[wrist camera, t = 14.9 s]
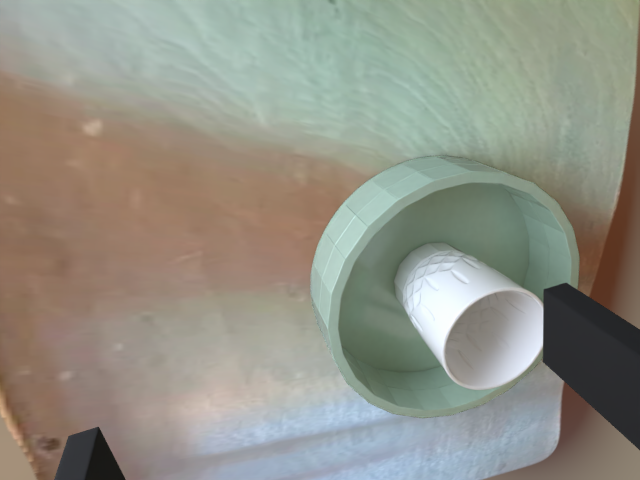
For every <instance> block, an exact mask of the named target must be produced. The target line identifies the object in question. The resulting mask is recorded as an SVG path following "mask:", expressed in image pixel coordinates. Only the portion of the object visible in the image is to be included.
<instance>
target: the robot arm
mask: <svg viewBox="0 0 640 480" xmlns="http://www.w3.org/2000/svg"><path fill="white" fill-rule="evenodd" d="M543 362H544V363H545V364H546V365H547V366H548V367H549V368H550V369H551V370H553V371H554V372H555V373H556V374H557V375H558V376H559V377H560V378H561V379H562V380H564V381H565V382H566V383H567V384H568V385H569V386H570V387H571V388H572V389H573V390H574V391H576V392H577V393H578V394H579V395H580V396H581V397H582V398H583V399H585V401H587V402H588V403H589V404H590V405H591V406H592V407H593V408H594V409H595V410H597V411H598V412H599V413H600V414H601V415H602V416H603V417H604V418H605V419H606V420H608V422H610V423H611V424H612V425H613V426H614V427H615V428H616V429H617V430H618V431H619V432H621V433H622V434H623V435H624V436H625V437H626V438H627V439H628V440H629V441H631V443H633V444H634V445H635V446H636V447H637V448H638V449H639V450H640V329H638V328H636V327H635V326H633V325H632V324H630V323H629V322H627V321H626V320H624V319H622V318H621V317H619V316H618V315H616V314H615V313H613V312H611V311H610V310H608V309H607V308H605V307H604V306H602V305H600V304H599V303H597V302H596V301H594V300H593V299H591V298H590V297H588V296H586V295H585V294H583V293H582V292H580V291H579V290H577V289H576V288H574V287H572V286H571V285H569V284H568V283H562V284H559V285H556V286H553V287H550V288H546V289H544V292H543ZM54 480H125V478H124V476H123V474H122V472H121V470H120V468H119V466H118V464H117V462H116V460H115V458H114V456H113V454H112V452H111V450H110V448H109V446H108V444H107V442H106V440H105V438H104V436H103V434H102V432H101V430H100V428H99V427H96V428H93V429H90V430H87V431H83V432H80V433H77V434H74V435H70V436H69V437H68V440H67V443H66V446H65V449H64V452H63V455H62V458H61V461H60V464H59V467H58V470H57V473H56V476H55V479H54Z"/></svg>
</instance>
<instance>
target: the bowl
mask: <svg viewBox="0 0 640 480" xmlns="http://www.w3.org/2000/svg"><path fill="white" fill-rule="evenodd" d="M438 242H445V243H447V244H449V245H451V246H453V247H455V248H457V249H459V250H461V251H462V252H464V253H465V254H469V255H471V256H473V257H474V258H476V259H478V260H480V261H481V262H483V263H485V264H486V265H488V266H490V267H492V268H493V269H495V270H497V271H498V272H500V273H501V274H503V275H505V276H506V277H508V278H509V279H511V280H512V281H514V282H516V283H517V284H519V285H520V286H522V287H524V288H525V289H527V290H529V291H530V292H532V293H533V294H535V295H536V296H537V297H538V298H539V299H540V300H541V301H542V303H543V292H544V289H546V288H550V287H553V286H556V285H559V284H562V283H568V284H569V285H571V286H572V287H574V288H576V289H578V279H579V260H580V257H579V252H578V247H577V243H576V238H575V234H574V230H573V227H572V225H571V223H570V222H569V220H568V218H567V217H566V215H565V213H564V212H563V210H562V208H561V207H560V205H559V203H558V202H557V201H556V200H554V199H553V198H552V197H551V196H550V195H548V194H547V193H546V192H545V191H544V190H542V189H541V188H540V187H539V186H537V185H536V184H535V183H533V182H530V181H527V180H525V179H522V178H519V177H517V176H514V175H511V174H509V173H506V172H503V171H501V170H498V169H495V168H492V167H490V166H487V165H484V164H482V163H479V162H476V161H473V160H471V159H467V158H462V157H454V156H428V157H422V158H416V159H413V160H409V161H406V162H403V163H400V164H397V165H395V166H393V167H391V168H389V169H386V170H384V171H383V172H381V173H379V174H378V175H376V176H374V177H373V178H371V179H369V180H368V181H367V182H366V183H364V184H363V185H362V186H361V187H359V188H358V189H357V190H356V191H355V192H354V193H353V194H352V195H351V196H350V197H349V198H348V199H347V200H346V201H345V202H344V203H343V204H342V205H341V207H340V208H339V209H338V210H337V212H336V213H335V214H334V216H333V217H332V219H331V220H330V222H329V224H328V225H327V227H326V229H325V230H324V233H323V235H322V237H321V239H320V242H319V244H318V246H317V250H316V253H315V257H314V260H313V265H312V272H311V290H310V291H311V299H312V306H313V310H314V313H315V317H316V320H317V324H318V326H319V329H320V331H321V333H322V335H323V337H324V340H325V342H326V344H327V346H328V348H329V351H330V353H331V355H332V357H333V359H334V361H335V363H336V365H337V366H338V368H339V370H340V372H341V374H342V375H343V377H344V379H345V381H346V382H347V384H348V385H349V386H350V387H351V388H353V389H354V390H355V391H356V392H357V393H358V394H359V395H360V396H361V397H363V398H364V399H365V400H366V401H367V402H368V403H370V404H372V405H374V406H377V407H379V408H381V409H383V410H386V411H388V412H390V413H392V414H397V415H404V416H411V417H419V418H429V417H439V416H448V415H454V414H457V413H460V412H463V411H466V410H469V409H472V408H475V407H478V406H481V405H483V404H485V403H486V402H488V401H490V400H492V399H494V398H495V397H497V396H499V395H501V394H502V393H504V392H506V391H508V390H509V389H510V388H512V387H513V386H514V385H515V384H516V383H517V382H519V381H520V380H521V379H522V378H523V377H525V376H526V375H527V374H528V373H529V372H531V371H532V370H533V369H534V368H535V367H536V366H537V364H538V363H539V362H540V361H541V360H542V358H543V348H542V350H541V352H540V354H539V355H538V357H537V358H536V360H535V361H534V362H533V363H532V365H531V366H530V367H529V368H528V369H527V370H526V371H525V372H524V373H522V374H521V375H520V376H518V377H517V378H516V379H514V380H512V381H511V382H509V383H507V384H505V385H502V386H500V387H497V388H493V389H488V390H472V389H467V388H464V387H462V386H460V385H458V384H457V383H455V382H454V381H453V380H452V379H451V378H450V377H449V376H448V374H447V373H446V371H445V370H444V368H443V367H442V366H441V364H440V363H439V361H438V360H437V358H436V357H435V356H434V354H433V353H432V351H431V350H430V349H429V347H428V346H427V344H426V343H425V342H424V340H423V339H422V337H421V336H420V334H419V332H418V331H417V330H416V328H415V327H414V325H413V323H412V322H411V320H410V319H409V316H408V314H407V312H406V311H405V309H404V308H403V306H402V305H401V303H400V302H399V301H398V299H397V298H396V294H395V287H394V279H395V276H396V273H397V270H398V267H399V265H400V263H401V262H402V261H403V260H404V259H405V258H406V257H407V255H408V254H409V253H410V252H411V251H413V250H415V249H416V248H418V247H420V246H422V245H424V244H426V243H438Z"/></svg>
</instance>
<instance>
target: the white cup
mask: <svg viewBox="0 0 640 480" xmlns="http://www.w3.org/2000/svg"><path fill="white" fill-rule="evenodd" d="M394 287H395V294H396V298H397V299H398V301H399V302H400V303H401V305H402V306H403V308H404V309H405V311H406V312H407V314H408V316H409V319H410V320H411V322H412V323H413V325H414V327H415V328H416V330H417V331H418V332H419V334H420V336H421V337H422V339H423V340H424V342H425V343H426V344H427V346H428V347H429V349H430V350H431V351H432V353H433V354H434V356H435V357H436V358H437V360H438V361H439V363H440V364H441V366H442V367H443V368H444V370H445V371H446V373H447V374H448V376H449V377H450V378H451V379H452V380H453V381H454V382H455V383H457V384H458V385H460V386H462V387H464V388H467V389H472V390H488V389H493V388H497V387H500V386H502V385H505V384H507V383H509V382H511V381H512V380H514V379H516V378H517V377H518V376H520V375H521V374H522V373H524V372H525V371H526V370H527V369H528V368H529V367H530V366H531V365H532V363H533V362H534V361H535V360H536V358H537V357H538V355H539V354H540V352H541V350H542V348H543V303H542V301H541V300H540V299H539V298H538V297H537V296H536V295H535V294H533V293H532V292H530V291H529V290H527V289H525V288H524V287H522V286H520V285H519V284H517V283H516V282H514V281H512V280H511V279H509V278H508V277H506V276H505V275H503V274H501V273H500V272H498V271H497V270H495V269H493V268H492V267H490V266H488V265H486V264H485V263H483V262H481V261H480V260H478V259H476V258H474V257H473V256H471V255H469V254H465V253H464V252H462V251H461V250H459V249H457V248H455V247H453V246H451V245H449V244H447V243H445V242H438V243H426V244H424V245H422V246H420V247H418V248H416V249H415V250H413V251H411V252H410V253H409V254H408V255H407V257H406V258H405V259H404V260H403V261H402V262H401V263H400V265H399V267H398V270H397V273H396V276H395V279H394Z"/></svg>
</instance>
